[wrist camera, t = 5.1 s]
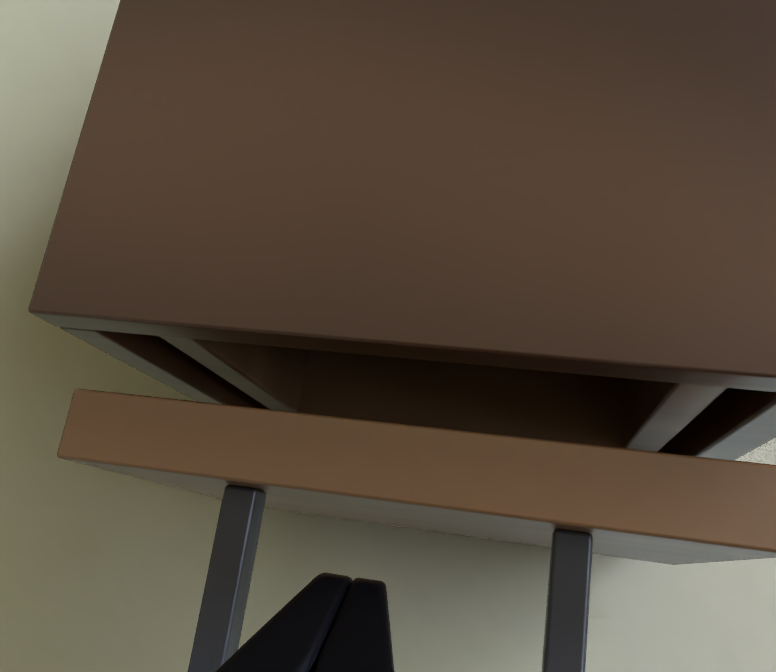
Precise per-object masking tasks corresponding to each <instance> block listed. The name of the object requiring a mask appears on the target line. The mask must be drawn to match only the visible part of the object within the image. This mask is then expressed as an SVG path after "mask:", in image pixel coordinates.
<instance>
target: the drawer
mask: <svg viewBox="0 0 776 672" xmlns="http://www.w3.org/2000/svg"><path fill="white" fill-rule="evenodd" d="M160 337H161V338H163V339H164V340H166V341H167V342H169V343H170V344H172V345H173V346H175V347H176V348H178V349H179V350H181V351H182V352H184V353H185V354H187V355H188V356H190V357H192V358H193V359H195V360H196V361H198V362H199V363H201V364H202V365H204V366H205V367H207V368H208V369H210V370H211V371H213V372H214V373H216V374H217V375H219V376H220V377H222V378H223V379H225V380H226V381H228V382H229V383H231V384H232V385H234V386H236V387H237V388H239V389H240V390H242V391H243V392H245V393H246V394H248V395H249V396H251V397H252V398H254V399H255V400H257V401H258V402H260V403H261V404H263V405H264V406H266V407H267V408H269V409H270V410H269V409H260V408H251V407H242V406H233V405H224V404H215V403H205V402H196V401H187V400H178V399H169V398H160V397H151V396H142V395H133V394H124V393H114V392H105V391H96V390H87V389H75V391H74V394H73V397H72V401H71V405H70V409H69V412H68V416H67V420H66V423H65V427H64V431H63V435H62V438H61V442H60V446H59V449H58V453H57V456H58V457H59V458H61V459H65V460H69V461H73V462H77V463H81V464H85V465H88V466H92V467H96V468H100V469H104V470H108V471H112V472H116V473H120V474H124V475H128V476H132V477H136V478H140V479H144V480H148V481H152V482H156V483H159V484H163V485H167V486H171V487H175V488H179V489H183V490H187V491H191V492H195V493H199V494H203V495H207V496H211V497H215V498H219V499H223V500H222V505H221V510H220V515H219V519H218V524H217V529H216V534H215V539H214V544H213V549H212V554H211V559H210V564H209V569H208V574H207V579H206V584H205V589H204V594H203V599H202V604H201V609H200V614H199V619H198V623H197V628H196V633H195V638H194V643H193V648H192V653H191V658H190V663H189V668H188V672H215V671H216V670H217V669H218V668H219V667H220V666H221V665H222V664H223V663H224V662H225V661H226V660H228V659H229V658H230V657H231V656H232V655H233V654H234V653H235V652H236V651H237V650H238V646H239V640H240V635H241V630H242V624H243V619H244V614H245V608H246V603H247V597H248V592H249V587H250V581H251V576H252V570H253V565H254V560H255V554H256V549H257V543H258V538H259V533H260V527H261V522H262V516H263V511H264V508H269V509H276V510H284V511H291V512H298V513H305V514H312V515H320V516H327V517H334V518H341V519H348V520H355V521H363V522H370V523H377V524H384V525H391V526H399V527H406V528H413V529H420V530H427V531H434V532H442V533H449V534H456V535H463V536H470V537H478V538H485V539H492V540H499V541H506V542H513V543H521V544H528V545H535V546H542V547H549V548H551V554H550V567H549V580H548V594H547V607H546V620H545V634H544V647H543V660H542V672H585V662H586V645H587V628H588V612H589V595H590V578H591V561H592V553H593V554H600V555H607V556H614V557H621V558H628V559H636V560H643V561H650V562H657V563H664V564H672V565H676V564H691V563H705V562H719V561H733V560H747V559H762V558H776V465H770V464H761V463H752V462H742V461H733V460H724V459H715V458H706V457H697V456H688V455H679V454H670V453H661V452H658V451H659V450H660V449H661V448H662V447H663V446H664V445H666V444H667V443H668V442H669V441H670V440H671V439H672V438H673V437H674V436H675V435H677V434H678V433H679V432H680V431H681V430H682V429H683V428H684V427H685V426H686V425H687V424H689V423H690V422H691V421H692V420H693V419H694V418H695V417H696V416H697V415H698V414H700V413H701V412H702V411H703V410H704V409H705V408H706V407H707V406H708V405H709V404H711V403H712V402H713V401H714V400H715V399H716V398H717V397H718V396H719V395H720V394H721V393H723V392H724V391H725V390H726V389H727V388H726V387H715V386H704V385H693V384H682V383H671V382H660V381H649V380H638V379H627V378H616V377H605V376H594V375H583V374H572V373H561V372H550V371H539V370H528V369H517V368H506V367H495V366H484V365H473V364H462V363H451V362H440V361H429V360H418V359H407V358H396V357H385V356H374V355H363V354H352V353H341V352H330V351H319V350H308V349H297V348H286V347H275V346H264V345H253V344H242V343H231V342H220V341H209V340H198V339H187V338H176V337H165V336H160Z"/></svg>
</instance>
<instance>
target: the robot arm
mask: <svg viewBox="0 0 776 672" xmlns="http://www.w3.org/2000/svg"><path fill="white" fill-rule="evenodd" d="M215 672H394V664H393V653H392V643H391V632H390V622H389V611H388V600H387V590H386V585H385V583H383V582H382V581H376V580H370V579H363V578H356V579H354V580H352V579H351V578H350V577H348V576H344V575H337V574H331V573H321V574H319V575H318V576H316V577H315V578H314V579H313V580H312V581H311V582H310V583H309V584H308V585H307V586H306V587H305V588H303V589H302V590H301V591H300V592H299V593H298V594H297V595H296V596H295V597H294V598H293V599H292V600H291V601H290V602H288V603H287V604H286V605H285V606H284V607H283V608H282V609H281V610H280V611H279V612H278V613H277V614H276V615H275V616H274V617H272V618H271V619H270V620H269V621H268V622H267V623H266V624H265V625H264V626H263V627H262V628H261V629H260V630H259V631H257V632H256V633H255V634H254V635H253V636H252V637H251V638H250V639H249V640H248V641H247V642H246V643H245V644H244V645H242V646H241V647H240V648H239V649H238V650H237V651H236V652H235V653H234V654H233V655H232V656H231V657H230V658H229V659H228V660H226V661H225V662H224V663H223V664H222V665H221V666H220V667H219V668H218V669H217V670H216V671H215Z"/></svg>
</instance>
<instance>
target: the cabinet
mask: <svg viewBox="0 0 776 672" xmlns="http://www.w3.org/2000/svg"><path fill="white" fill-rule="evenodd" d="M29 312H30V313H31V314H33V315H35V316H37V317H39V318H41V319H43V320H45V321H46V322H48V323H50V324H52V325H54V326H56V327H60V328H61V329H63V330H65V331H66V332H68V333H70V334H72V335H74V336H76V337H78V338H79V339H81V340H83V341H85V342H87V343H89V344H91V345H93V346H94V347H96V348H98V349H100V350H102V351H104V352H106V353H108V354H109V355H111V356H113V357H115V358H117V359H119V360H121V361H122V362H124V363H126V364H128V365H130V366H132V367H134V368H136V369H137V370H139V371H141V372H143V373H145V374H147V375H149V376H150V377H152V378H154V379H156V380H158V381H160V382H162V383H164V384H165V385H167V386H169V387H171V388H173V389H175V390H177V391H178V392H180V393H182V394H184V395H186V396H188V397H190V398H192V399H193V400H195V401H197V402H205V403H215V404H224V405H233V406H242V407H251V408H260V409H269V408H267V407H266V406H264V405H263V404H261V403H260V402H258V401H257V400H255V399H254V398H252V397H251V396H249V395H248V394H246V393H245V392H243V391H242V390H240V389H239V388H237V387H236V386H234V385H232V384H231V383H229V382H228V381H226V380H225V379H223V378H222V377H220V376H219V375H217V374H216V373H214V372H213V371H211V370H210V369H208V368H207V367H205V366H204V365H202V364H201V363H199V362H198V361H196V360H195V359H193V358H192V357H190V356H188V355H187V354H185V353H184V352H182V351H181V350H179V349H178V348H176V347H175V346H173V345H172V344H170V343H169V342H167V341H166V340H164V339H163V338H161V337H160V336H165V337H176V338H187V339H198V340H209V341H220V342H231V343H242V344H253V345H264V346H275V347H286V348H297V349H308V350H319V351H330V352H341V353H352V354H363V355H374V356H385V357H396V358H407V359H418V360H429V361H440V362H451V363H462V364H473V365H484V366H495V367H506V368H517V369H528V370H539V371H550V372H561V373H572V374H583V375H594V376H605V377H616V378H627V379H638V380H649V381H660V382H671V383H682V384H693V385H704V386H715V387H726V388H727V389H726V390H725V391H724V392H723V393H721V394H720V395H719V396H718V397H717V398H716V399H715V400H714V401H713V402H712V403H711V404H709V405H708V406H707V407H706V408H705V409H704V410H703V411H702V412H701V413H700V414H698V415H697V416H696V417H695V418H694V419H693V420H692V421H691V422H690V423H689V424H687V425H686V426H685V427H684V428H683V429H682V430H681V431H680V432H679V433H678V434H677V435H675V436H674V437H673V438H672V439H671V440H670V441H669V442H668V443H667V444H666V445H664V446H663V447H662V448H661V449H660V450H659V451H658V452H661V453H670V454H679V455H688V456H697V457H706V458H715V459H724V460H735V459H737V458H739V457H741V456H743V455H744V454H746V453H748V452H750V451H752V450H754V449H755V448H757V447H759V446H761V445H763V444H765V443H766V442H768V441H770V440H772V439H774V438H776V0H120V3H119V7H118V10H117V13H116V17H115V20H114V24H113V27H112V30H111V34H110V37H109V40H108V44H107V47H106V50H105V54H104V57H103V60H102V64H101V67H100V71H99V74H98V77H97V81H96V84H95V87H94V91H93V94H92V97H91V101H90V104H89V107H88V111H87V114H86V118H85V121H84V124H83V128H82V131H81V134H80V138H79V141H78V144H77V148H76V151H75V154H74V158H73V161H72V165H71V168H70V171H69V175H68V178H67V181H66V185H65V188H64V191H63V195H62V198H61V202H60V205H59V208H58V212H57V215H56V218H55V222H54V225H53V228H52V232H51V235H50V238H49V242H48V245H47V249H46V252H45V255H44V259H43V262H42V265H41V269H40V272H39V275H38V279H37V282H36V285H35V289H34V292H33V296H32V299H31V302H30V306H29ZM269 410H270V409H269Z"/></svg>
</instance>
